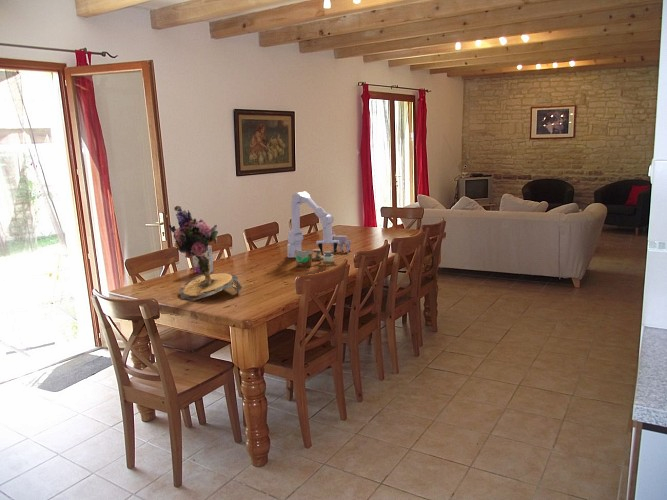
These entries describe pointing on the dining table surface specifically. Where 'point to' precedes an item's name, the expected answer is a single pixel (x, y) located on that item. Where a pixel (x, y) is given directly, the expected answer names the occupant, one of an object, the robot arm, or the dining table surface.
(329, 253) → the gray metal block
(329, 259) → the pale green flanged block
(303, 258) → the food container
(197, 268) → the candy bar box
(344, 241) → the toy sheep
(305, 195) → the robot arm
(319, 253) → the tan rounded lump
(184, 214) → the bouquet
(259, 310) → the dining table surface
